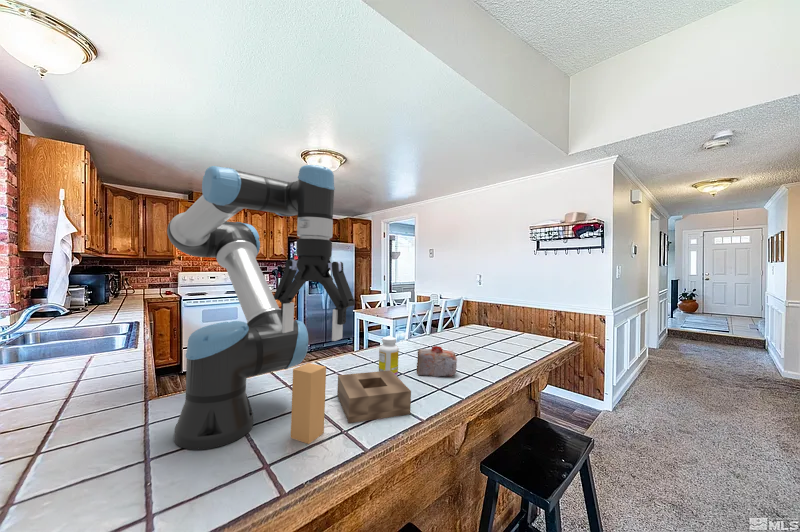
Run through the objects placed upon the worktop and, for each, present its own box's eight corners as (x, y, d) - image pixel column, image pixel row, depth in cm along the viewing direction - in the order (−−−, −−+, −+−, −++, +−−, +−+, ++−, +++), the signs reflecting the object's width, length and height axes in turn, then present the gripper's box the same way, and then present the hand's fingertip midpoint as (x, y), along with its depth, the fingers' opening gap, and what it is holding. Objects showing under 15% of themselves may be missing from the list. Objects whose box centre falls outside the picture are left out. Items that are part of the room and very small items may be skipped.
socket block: (348, 423, 76) (349, 398, 76) (337, 395, 91) (338, 375, 91) (410, 414, 82) (411, 391, 82) (390, 389, 97) (390, 370, 97)
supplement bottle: (398, 372, 112) (400, 336, 112) (396, 379, 105) (398, 341, 105) (379, 371, 113) (381, 335, 113) (376, 378, 106) (378, 340, 106)
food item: (453, 371, 117) (454, 344, 116) (457, 379, 109) (458, 350, 108) (416, 369, 116) (417, 342, 116) (417, 377, 109) (418, 348, 108)
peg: (290, 437, 69) (293, 369, 69) (306, 427, 74) (308, 362, 73) (308, 444, 67) (311, 373, 67) (323, 432, 72) (326, 366, 71)
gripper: (259, 237, 71) (256, 331, 72) (353, 237, 61) (350, 347, 61) (284, 239, 78) (281, 325, 78) (372, 240, 68) (369, 339, 68)
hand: (311, 335), depth 70 cm, fingers open, 13 cm apart
